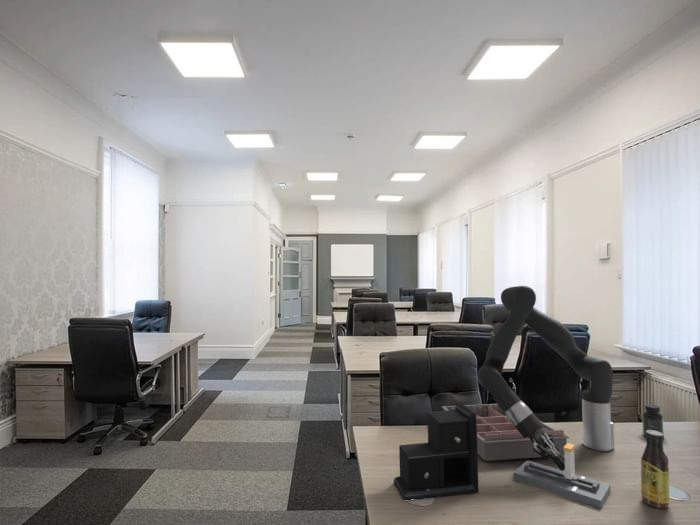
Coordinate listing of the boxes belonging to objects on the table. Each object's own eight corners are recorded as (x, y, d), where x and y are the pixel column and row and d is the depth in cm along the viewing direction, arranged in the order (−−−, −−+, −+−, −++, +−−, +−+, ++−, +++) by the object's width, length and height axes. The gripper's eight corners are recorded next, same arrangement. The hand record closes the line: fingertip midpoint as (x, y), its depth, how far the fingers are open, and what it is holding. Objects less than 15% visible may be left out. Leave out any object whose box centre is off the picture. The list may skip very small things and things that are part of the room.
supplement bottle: (668, 438, 158) (667, 408, 159) (654, 440, 156) (653, 409, 157) (652, 432, 165) (650, 403, 165) (638, 434, 163) (637, 404, 164)
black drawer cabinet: (403, 502, 113) (403, 418, 114) (393, 483, 124) (392, 406, 125) (479, 494, 117) (478, 413, 118) (462, 476, 128) (461, 402, 129)
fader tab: (561, 481, 120) (560, 446, 120) (565, 475, 123) (564, 442, 124) (574, 485, 118) (573, 449, 118) (578, 479, 121) (577, 445, 121)
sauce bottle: (636, 498, 115) (633, 427, 116) (656, 497, 115) (653, 427, 116) (655, 511, 108) (652, 436, 109) (676, 509, 109) (673, 435, 110)
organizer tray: (509, 421, 179) (509, 398, 180) (570, 460, 140) (569, 431, 140) (441, 424, 175) (441, 401, 175) (484, 466, 135) (483, 436, 136)
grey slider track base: (513, 478, 126) (513, 467, 126) (527, 466, 135) (527, 455, 135) (601, 508, 110) (600, 495, 110) (610, 491, 118) (610, 479, 118)
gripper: (523, 417, 124) (568, 470, 115) (538, 407, 134) (580, 455, 125) (507, 430, 127) (548, 482, 118) (522, 419, 137) (562, 467, 128)
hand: (565, 468), depth 122 cm, fingers closed
